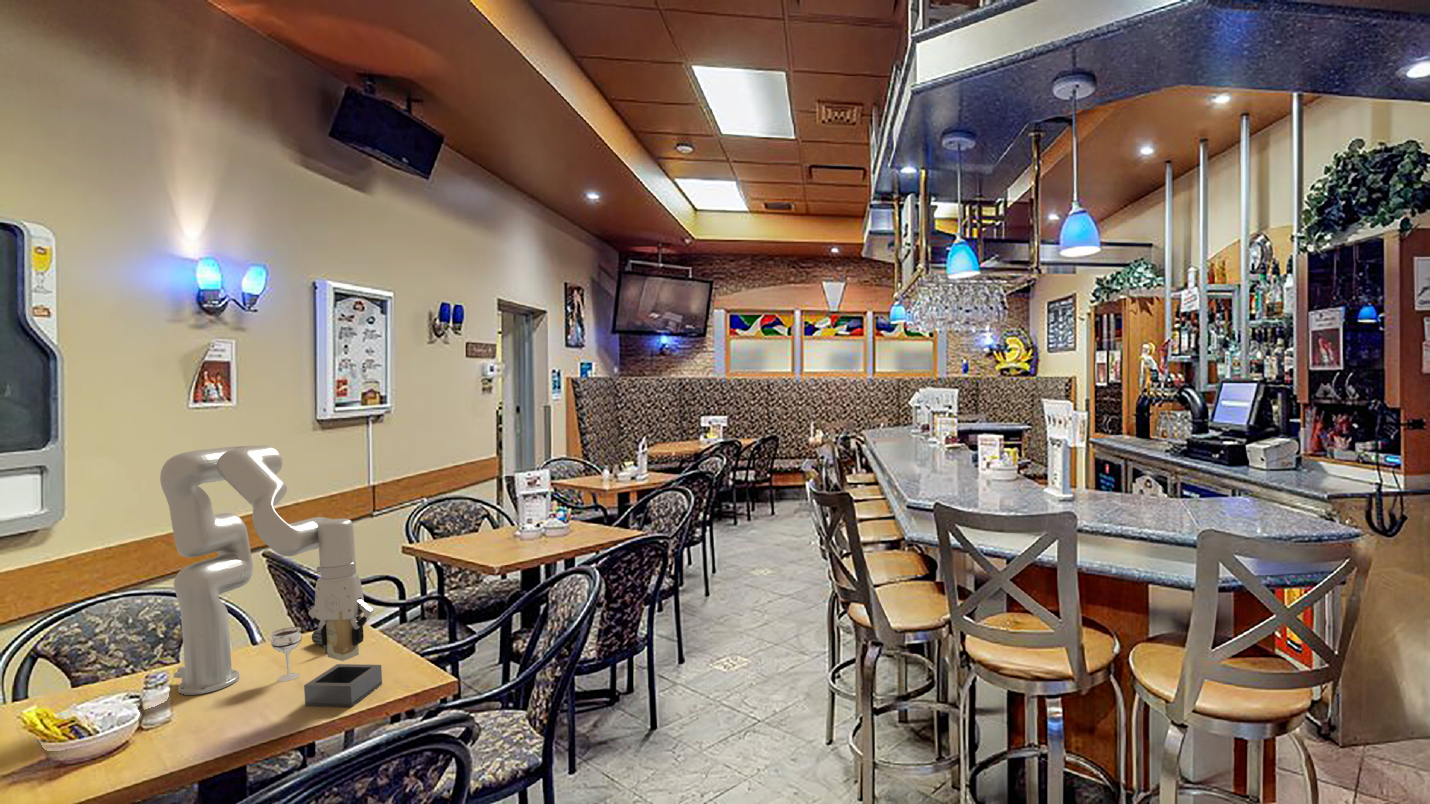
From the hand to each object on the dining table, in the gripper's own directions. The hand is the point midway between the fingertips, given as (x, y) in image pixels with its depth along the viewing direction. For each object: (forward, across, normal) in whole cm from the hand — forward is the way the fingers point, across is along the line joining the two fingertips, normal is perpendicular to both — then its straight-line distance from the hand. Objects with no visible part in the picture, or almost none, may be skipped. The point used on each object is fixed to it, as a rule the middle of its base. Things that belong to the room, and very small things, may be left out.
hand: (342, 643), depth 165 cm
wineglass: (+13, -22, +9) cm, 27 cm away
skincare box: (+3, 0, 0) cm, 3 cm away
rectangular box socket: (+13, 0, 0) cm, 13 cm away
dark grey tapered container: (+13, -26, +30) cm, 41 cm away
